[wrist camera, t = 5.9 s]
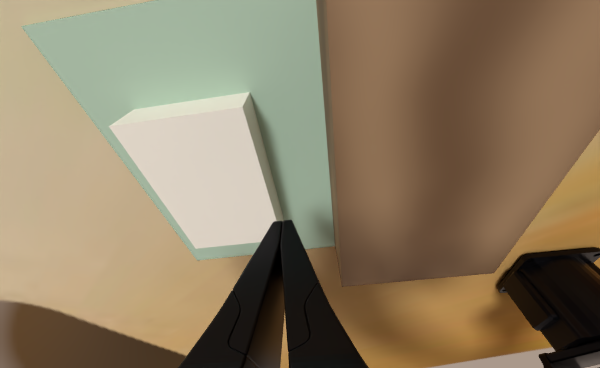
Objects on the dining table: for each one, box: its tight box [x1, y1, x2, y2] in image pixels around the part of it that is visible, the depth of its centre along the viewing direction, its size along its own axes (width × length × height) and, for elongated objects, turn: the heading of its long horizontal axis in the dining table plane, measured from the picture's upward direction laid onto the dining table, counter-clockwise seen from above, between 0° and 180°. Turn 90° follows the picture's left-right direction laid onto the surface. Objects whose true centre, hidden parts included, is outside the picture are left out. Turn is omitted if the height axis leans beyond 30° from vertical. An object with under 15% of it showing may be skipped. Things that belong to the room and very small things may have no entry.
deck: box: [316, 0, 600, 287], centre depth 12 cm, size 10×16×4 cm, turn 8°
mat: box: [21, 0, 335, 260], centre depth 14 cm, size 12×17×1 cm
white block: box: [109, 92, 283, 249], centre depth 13 cm, size 6×9×2 cm, turn 8°
